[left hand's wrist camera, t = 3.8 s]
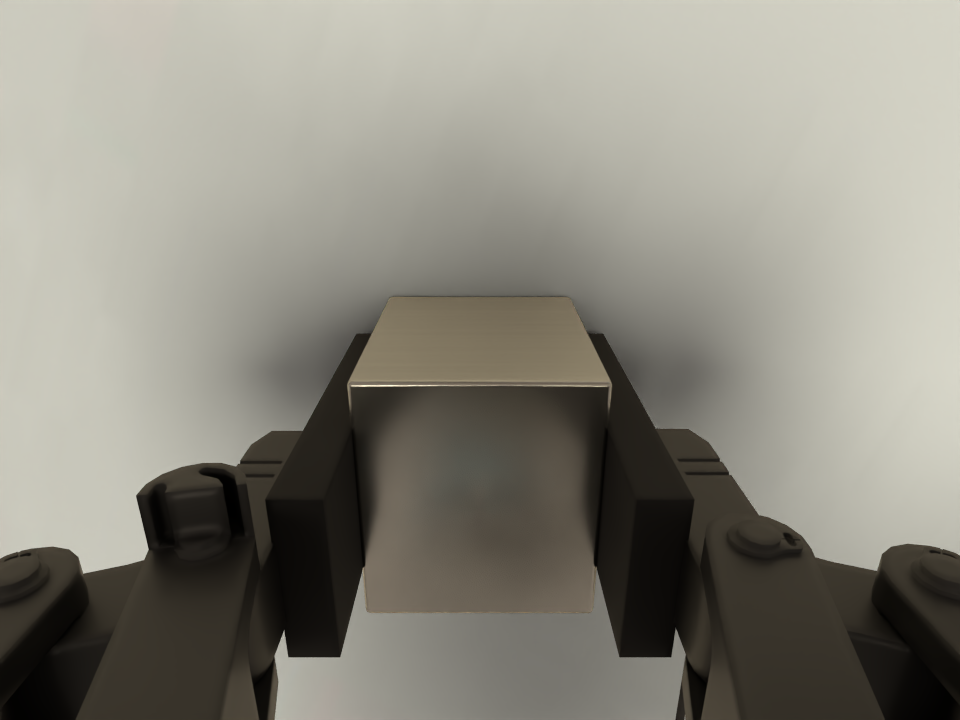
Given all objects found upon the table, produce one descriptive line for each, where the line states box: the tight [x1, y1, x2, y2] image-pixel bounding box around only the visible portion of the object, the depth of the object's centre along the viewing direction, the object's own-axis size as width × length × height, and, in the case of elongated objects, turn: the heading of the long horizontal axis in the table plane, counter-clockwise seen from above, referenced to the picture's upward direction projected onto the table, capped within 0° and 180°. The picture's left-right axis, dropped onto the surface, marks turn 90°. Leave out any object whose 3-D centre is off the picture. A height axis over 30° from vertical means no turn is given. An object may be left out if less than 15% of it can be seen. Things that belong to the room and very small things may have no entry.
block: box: [347, 297, 612, 613], centre depth 13 cm, size 4×5×5 cm
